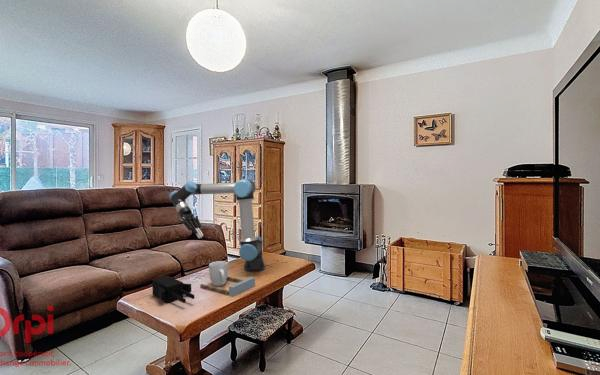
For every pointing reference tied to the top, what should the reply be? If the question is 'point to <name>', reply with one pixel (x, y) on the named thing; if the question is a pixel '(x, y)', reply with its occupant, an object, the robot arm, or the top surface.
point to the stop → (241, 286)
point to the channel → (219, 288)
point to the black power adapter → (171, 289)
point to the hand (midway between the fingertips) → (201, 236)
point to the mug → (218, 272)
